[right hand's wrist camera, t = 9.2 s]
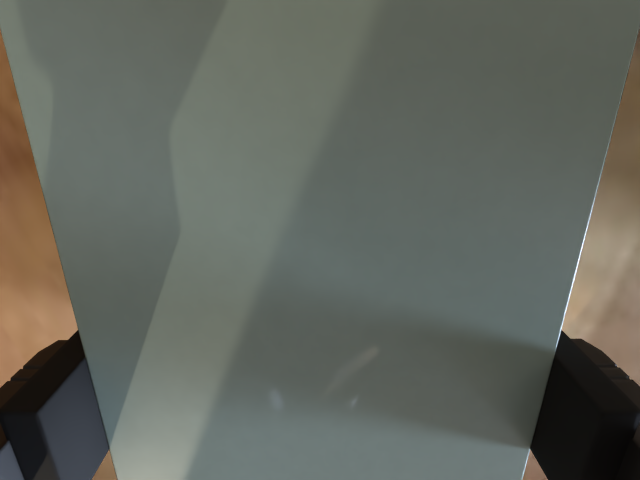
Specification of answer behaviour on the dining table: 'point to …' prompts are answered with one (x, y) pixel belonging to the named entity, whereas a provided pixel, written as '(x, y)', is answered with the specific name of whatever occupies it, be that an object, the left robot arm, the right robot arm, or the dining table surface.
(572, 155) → the cabinet
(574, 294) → the dining table surface
